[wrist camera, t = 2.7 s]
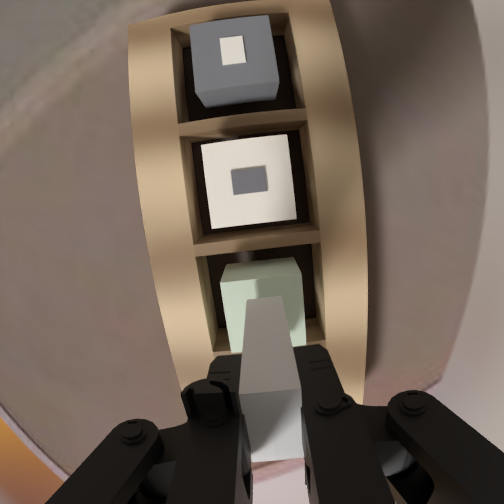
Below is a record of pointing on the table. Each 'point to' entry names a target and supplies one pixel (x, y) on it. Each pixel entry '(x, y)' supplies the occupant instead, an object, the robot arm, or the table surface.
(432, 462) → the robot arm
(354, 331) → the keypad frame
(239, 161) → the cream key
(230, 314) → the sage key
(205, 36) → the charcoal key
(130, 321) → the table surface
